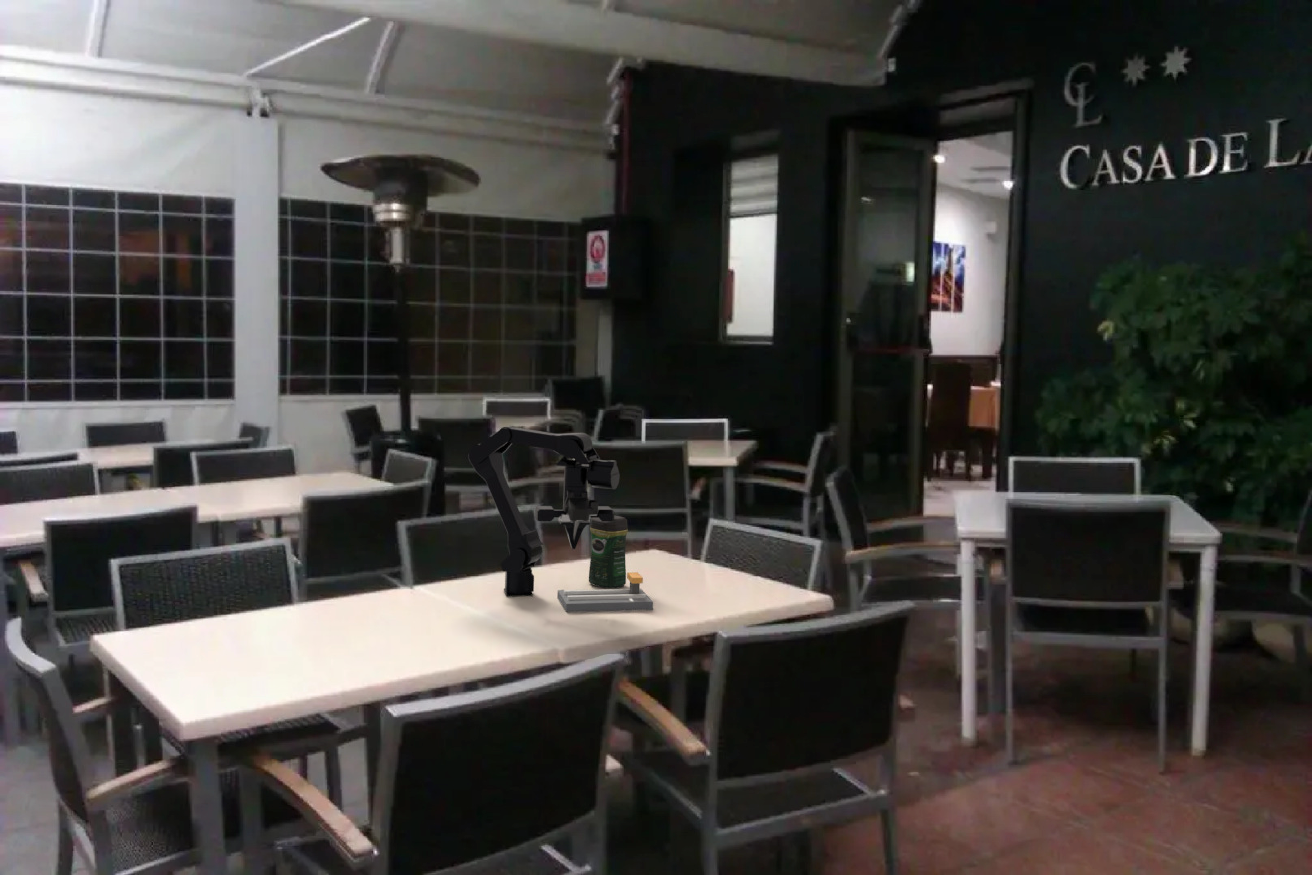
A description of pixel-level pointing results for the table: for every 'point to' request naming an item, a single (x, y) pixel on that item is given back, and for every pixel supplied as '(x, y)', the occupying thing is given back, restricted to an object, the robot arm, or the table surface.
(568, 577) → the table surface
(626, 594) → the console
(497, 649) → the table surface
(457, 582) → the table surface
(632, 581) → the fader
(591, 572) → the coffee jar
